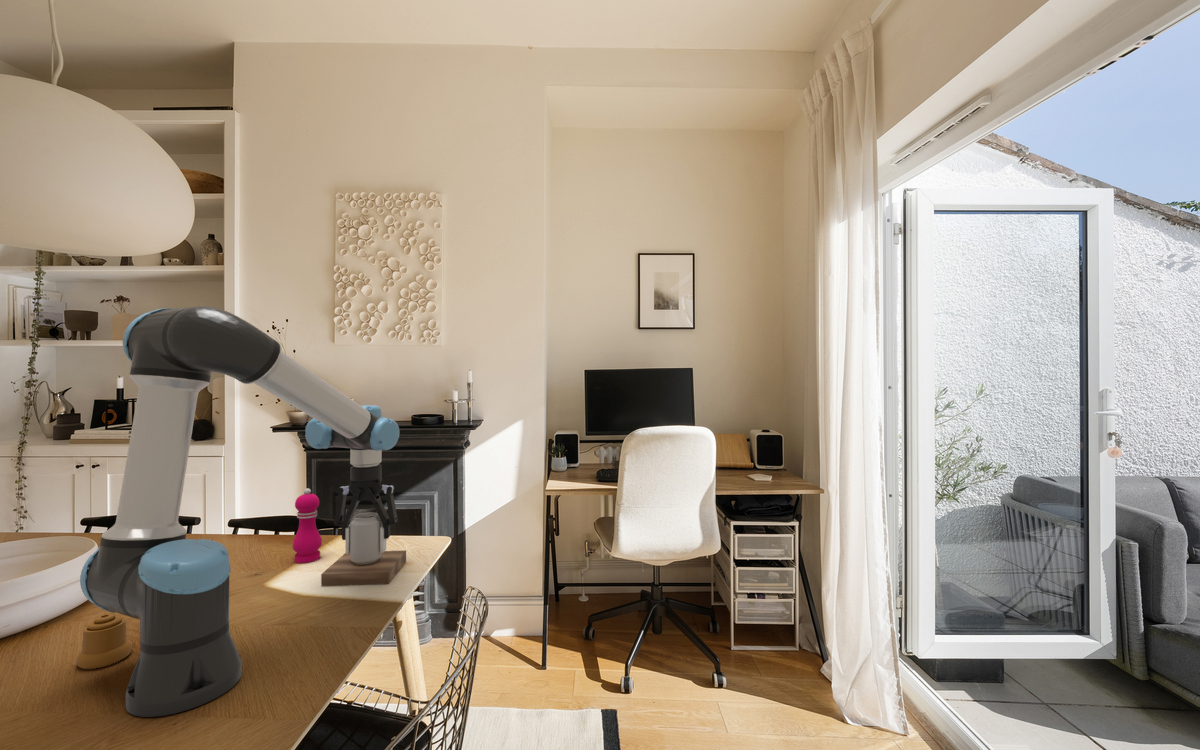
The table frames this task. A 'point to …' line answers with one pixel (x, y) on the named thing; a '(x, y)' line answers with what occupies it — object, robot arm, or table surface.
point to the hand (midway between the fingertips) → (366, 551)
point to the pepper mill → (307, 529)
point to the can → (365, 538)
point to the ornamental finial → (104, 642)
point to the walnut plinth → (364, 570)
